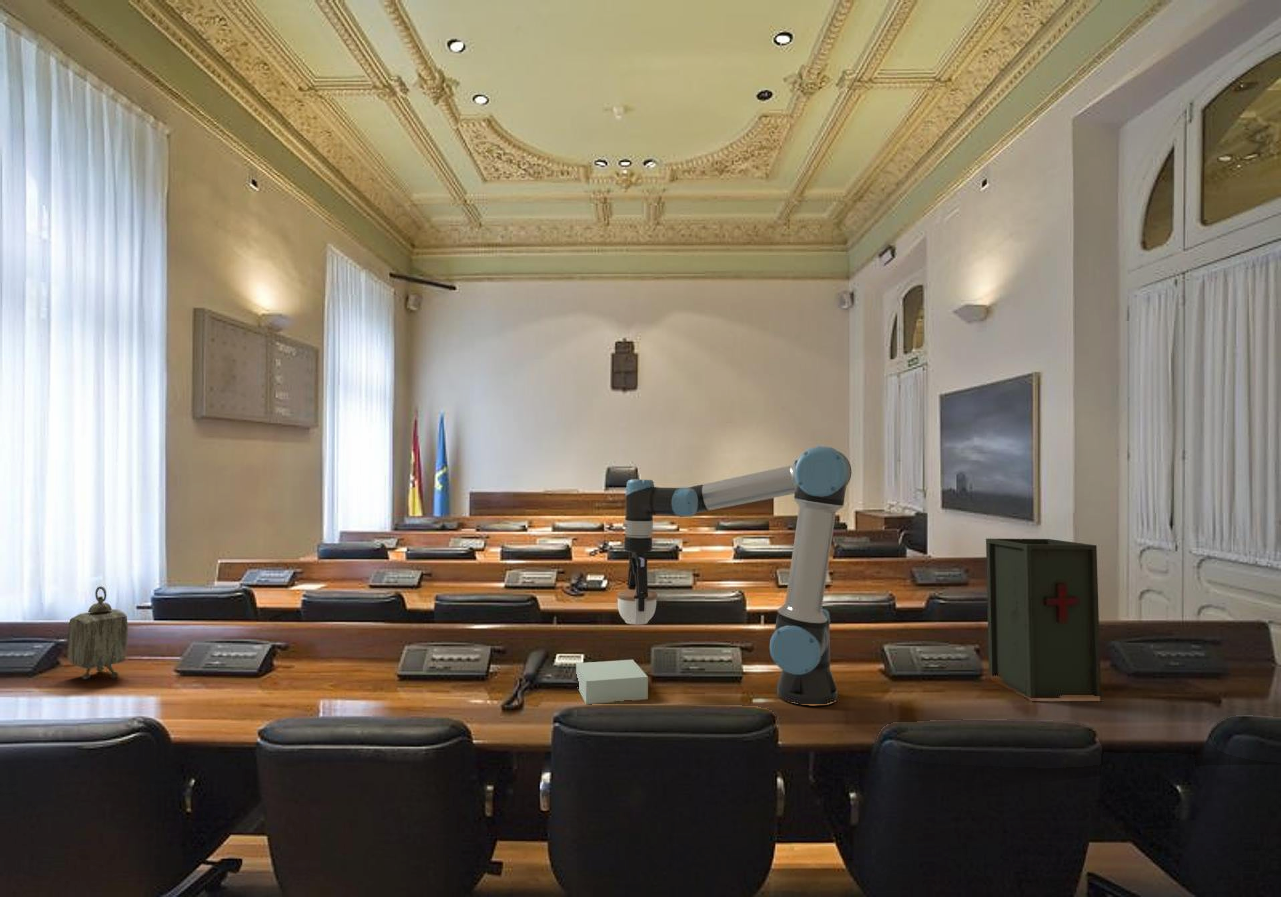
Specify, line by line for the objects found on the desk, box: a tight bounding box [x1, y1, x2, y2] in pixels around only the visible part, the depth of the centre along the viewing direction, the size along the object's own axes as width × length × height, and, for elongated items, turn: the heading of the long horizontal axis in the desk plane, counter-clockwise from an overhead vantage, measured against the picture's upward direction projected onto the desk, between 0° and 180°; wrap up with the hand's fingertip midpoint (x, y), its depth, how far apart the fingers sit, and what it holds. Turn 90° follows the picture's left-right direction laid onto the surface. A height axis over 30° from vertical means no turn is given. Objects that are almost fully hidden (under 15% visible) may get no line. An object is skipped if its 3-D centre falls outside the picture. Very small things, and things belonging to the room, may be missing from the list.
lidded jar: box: [616, 587, 658, 626], centre depth 169 cm, size 11×11×9 cm
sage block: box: [575, 659, 649, 705], centre depth 166 cm, size 16×16×6 cm
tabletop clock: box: [67, 585, 128, 680], centre depth 175 cm, size 14×9×25 cm, turn 58°
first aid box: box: [985, 538, 1102, 698], centre depth 171 cm, size 18×18×40 cm
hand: (636, 618), depth 169 cm, fingers closed on lidded jar, 11 cm apart
